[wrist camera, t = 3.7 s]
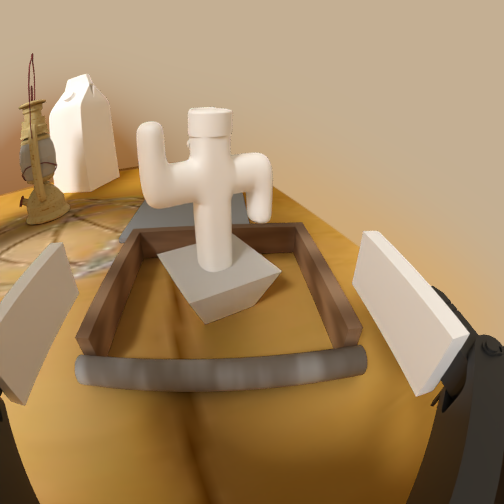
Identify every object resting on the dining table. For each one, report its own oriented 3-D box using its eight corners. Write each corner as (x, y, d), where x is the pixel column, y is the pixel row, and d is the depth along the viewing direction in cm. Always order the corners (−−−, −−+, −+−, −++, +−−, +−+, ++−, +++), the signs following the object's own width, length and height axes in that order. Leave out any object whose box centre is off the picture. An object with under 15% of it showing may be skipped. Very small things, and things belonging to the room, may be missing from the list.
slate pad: (251, 237, 34) (251, 232, 34) (119, 242, 33) (118, 238, 32) (242, 194, 48) (242, 191, 48) (148, 199, 46) (147, 195, 46)
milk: (119, 176, 62) (113, 71, 50) (90, 191, 53) (80, 70, 40) (85, 178, 64) (77, 81, 52) (55, 192, 54) (44, 84, 42)
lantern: (26, 213, 44) (11, 67, 29) (69, 199, 49) (57, 55, 34) (20, 234, 35) (0, 54, 21) (71, 217, 40) (57, 38, 26)
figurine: (289, 304, 23) (304, 108, 16) (181, 348, 19) (149, 112, 12) (243, 265, 29) (243, 105, 21) (151, 294, 24) (126, 114, 17)
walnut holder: (361, 380, 16) (374, 350, 15) (83, 390, 15) (65, 360, 13) (299, 247, 32) (302, 222, 31) (137, 253, 30) (132, 228, 29)
